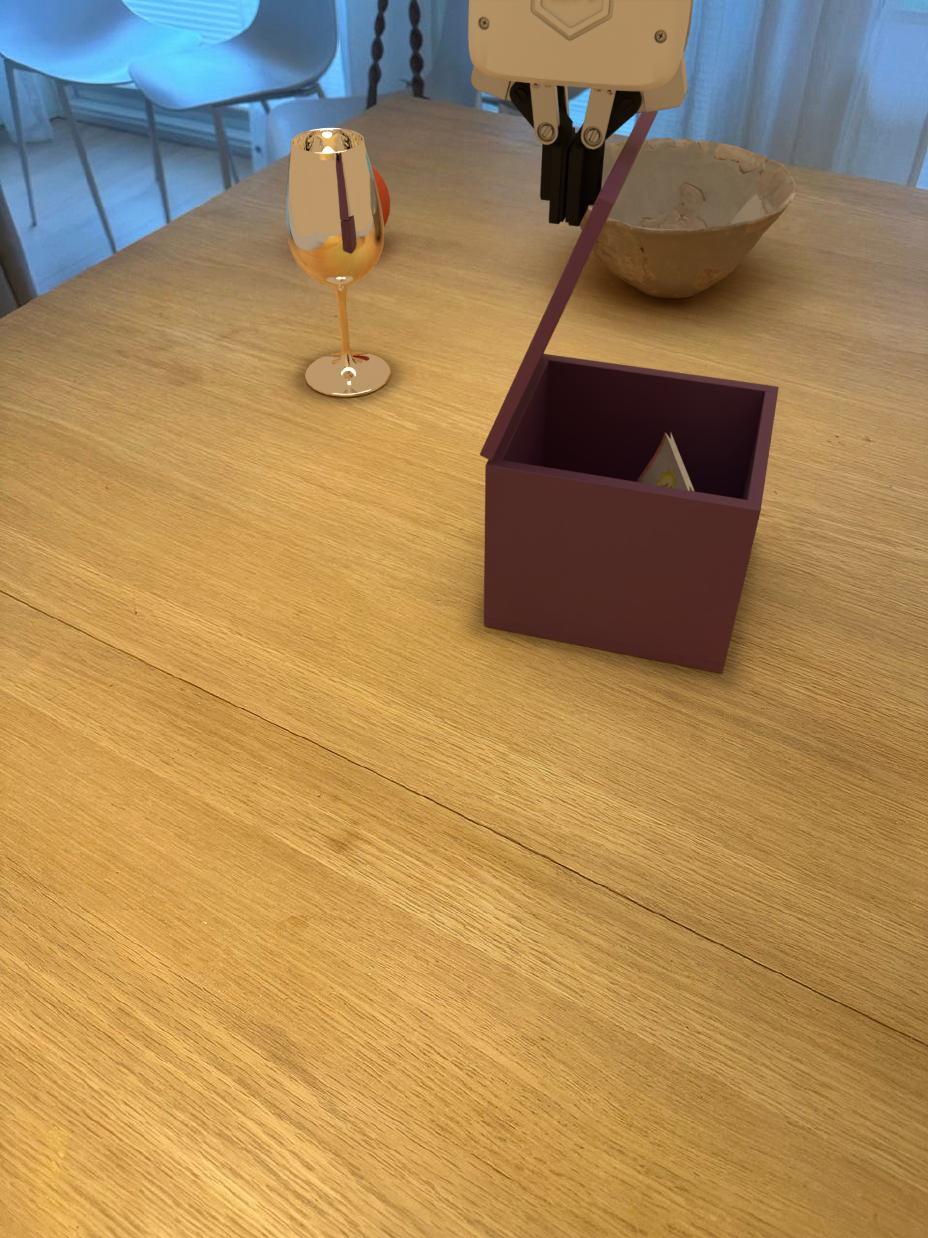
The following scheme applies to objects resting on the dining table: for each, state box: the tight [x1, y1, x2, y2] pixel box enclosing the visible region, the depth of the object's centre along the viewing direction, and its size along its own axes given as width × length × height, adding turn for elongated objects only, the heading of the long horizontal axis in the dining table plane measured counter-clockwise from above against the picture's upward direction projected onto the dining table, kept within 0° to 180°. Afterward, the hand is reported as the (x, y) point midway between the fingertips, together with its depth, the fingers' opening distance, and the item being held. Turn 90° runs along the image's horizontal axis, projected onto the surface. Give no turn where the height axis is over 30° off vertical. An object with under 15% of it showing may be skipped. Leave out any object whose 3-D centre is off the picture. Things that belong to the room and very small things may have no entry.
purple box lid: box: [479, 111, 659, 460], centre depth 59 cm, size 16×14×1 cm
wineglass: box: [285, 127, 392, 398], centre depth 86 cm, size 8×8×20 cm
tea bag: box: [636, 432, 694, 491], centre depth 68 cm, size 4×7×10 cm, turn 4°
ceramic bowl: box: [579, 137, 798, 299], centre depth 104 cm, size 22×23×10 cm
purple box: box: [483, 353, 780, 674], centre depth 68 cm, size 16×14×13 cm
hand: (569, 214), depth 57 cm, fingers closed
